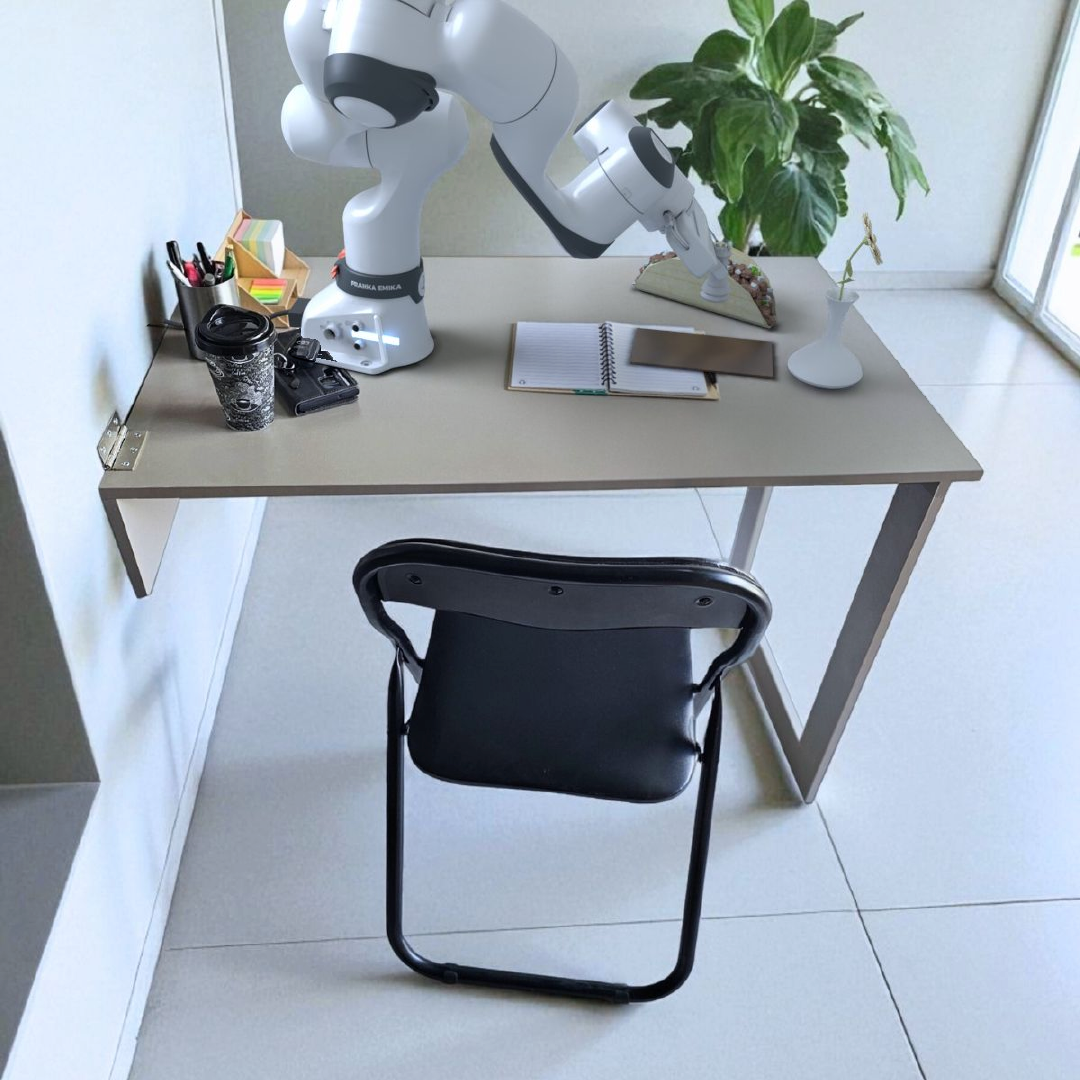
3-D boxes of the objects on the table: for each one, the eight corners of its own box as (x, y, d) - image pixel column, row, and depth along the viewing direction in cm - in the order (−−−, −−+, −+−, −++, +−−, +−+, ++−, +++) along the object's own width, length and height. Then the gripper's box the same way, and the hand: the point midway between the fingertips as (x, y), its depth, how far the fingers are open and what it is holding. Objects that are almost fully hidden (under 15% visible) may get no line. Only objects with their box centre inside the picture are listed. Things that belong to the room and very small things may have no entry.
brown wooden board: (630, 363, 163) (630, 361, 162) (636, 329, 172) (637, 327, 172) (772, 379, 160) (773, 376, 160) (771, 343, 170) (771, 341, 169)
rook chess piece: (733, 302, 156) (741, 251, 151) (705, 304, 155) (712, 252, 150) (723, 290, 159) (731, 239, 154) (695, 292, 158) (702, 241, 153)
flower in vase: (845, 403, 155) (886, 241, 140) (774, 381, 160) (805, 221, 144) (873, 369, 164) (914, 213, 149) (804, 349, 169) (837, 196, 153)
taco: (762, 338, 171) (773, 280, 165) (620, 295, 182) (625, 239, 176) (785, 318, 178) (797, 261, 171) (647, 277, 189) (653, 223, 183)
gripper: (686, 211, 139) (748, 284, 145) (676, 163, 155) (732, 231, 161) (649, 242, 142) (711, 313, 147) (643, 192, 158) (699, 257, 164)
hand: (722, 269), depth 154 cm, fingers closed on rook chess piece, 3 cm apart
